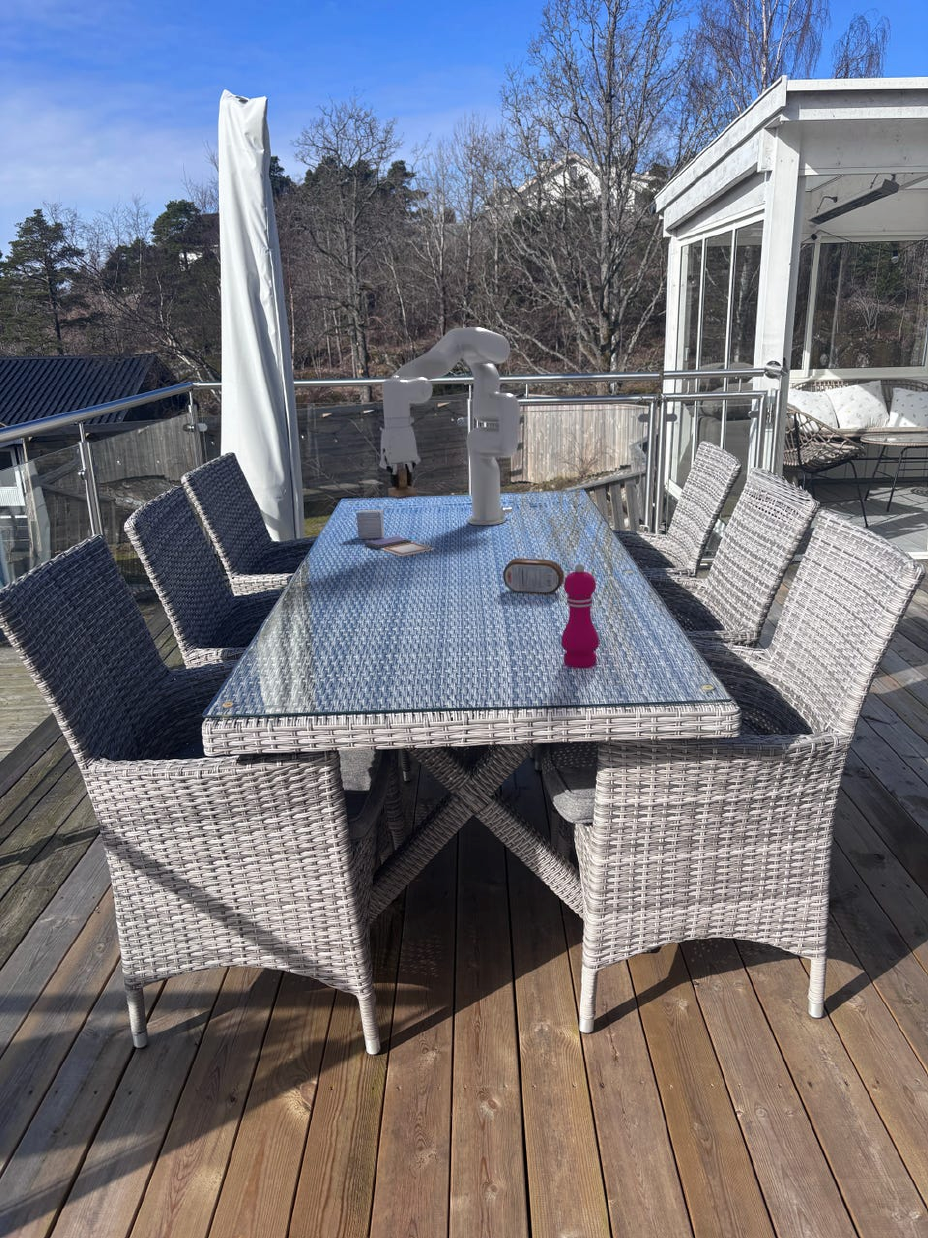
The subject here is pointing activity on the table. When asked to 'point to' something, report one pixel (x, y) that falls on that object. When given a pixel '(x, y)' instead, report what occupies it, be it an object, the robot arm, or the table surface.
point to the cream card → (407, 549)
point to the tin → (533, 576)
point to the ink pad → (387, 542)
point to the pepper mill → (580, 620)
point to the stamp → (402, 487)
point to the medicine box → (370, 524)
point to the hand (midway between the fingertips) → (401, 485)
